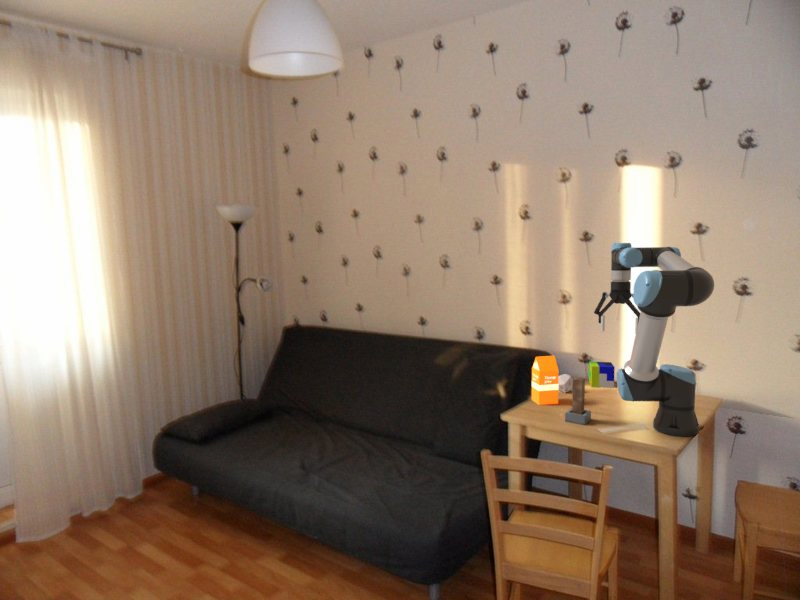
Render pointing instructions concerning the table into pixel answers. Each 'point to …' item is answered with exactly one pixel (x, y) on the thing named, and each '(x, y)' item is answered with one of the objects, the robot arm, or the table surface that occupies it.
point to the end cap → (578, 417)
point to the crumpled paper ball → (565, 383)
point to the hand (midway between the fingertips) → (619, 332)
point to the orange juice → (545, 380)
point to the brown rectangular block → (578, 395)
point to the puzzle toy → (601, 374)
